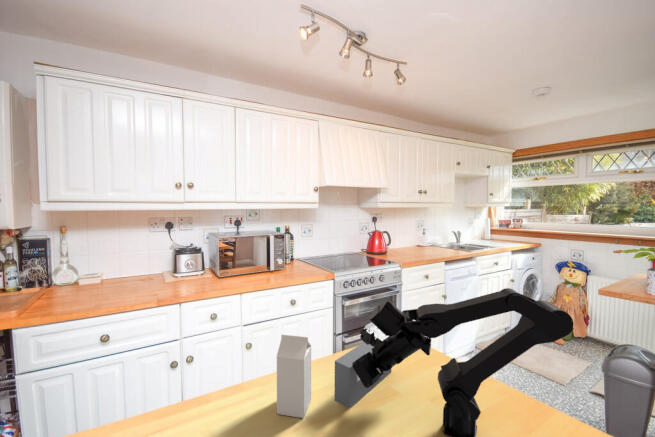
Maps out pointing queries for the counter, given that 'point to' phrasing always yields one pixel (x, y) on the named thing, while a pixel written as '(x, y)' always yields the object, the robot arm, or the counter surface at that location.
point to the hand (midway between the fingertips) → (362, 372)
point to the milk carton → (293, 376)
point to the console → (352, 377)
